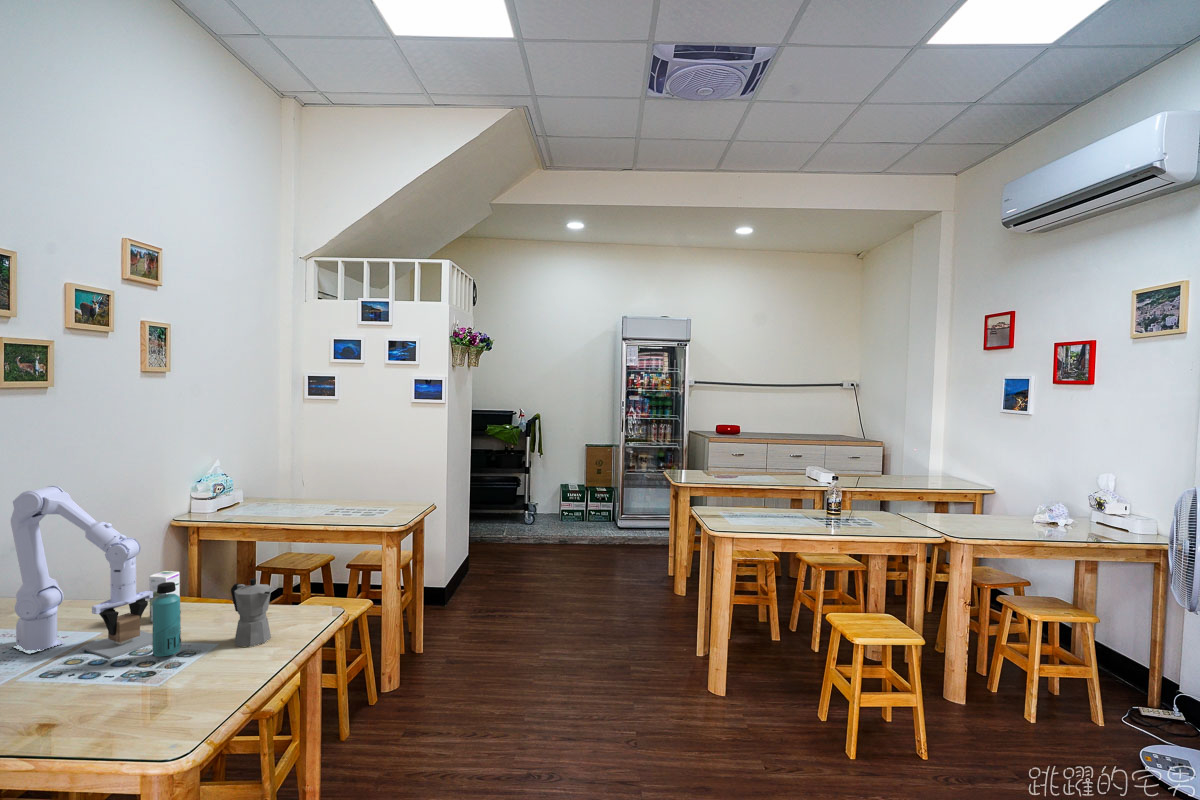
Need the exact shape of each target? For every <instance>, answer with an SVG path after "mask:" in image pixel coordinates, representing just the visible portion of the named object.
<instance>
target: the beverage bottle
mask: <svg viewBox="0 0 1200 800" xmlns="http://www.w3.org/2000/svg"><path fill="white" fill-rule="evenodd" d="M175 590H176V587H175V583H174V582H165V583H161V584H159V585H158V587H157V593H158V594H164V595H160V596H158V597H157V598H156V599H155V600H154V601H153V602H152V605H153V622H152V634H153V641H152V642H153V644H151V646H152V655H153V656H154V657H168V656H171V655H172V656H173V655H174V654H177V653H178V652H180V650H181V648H182V631H181V630H182V627H181V619H182V616H181V613H182V610H181V597H179V596H178V595H176V594H165V593H171V592H174V591H175Z"/></svg>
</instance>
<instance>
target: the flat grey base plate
mask: <svg viewBox="0 0 1200 800" xmlns="http://www.w3.org/2000/svg"><path fill="white" fill-rule="evenodd" d="M152 641H153V632H149V631H145V630H141V629H140V636H137V637H134V638H131V639H128V640H125V641H123V642H116V641H113V640H110V639H108V637H106V638H103V639H101V640H98V641H94V642H92V643H88V644H85V645H82V646H80V647H79V649H80V650H82V649H83V651H85V650H86V652H89V653H92V654H94V655H97V656H101V657H104V658H108V659H111V660H112V659H115V658H116V657H119V656H122V655H125V654H128V653H131V652H134V651H136V650H139V649H141V648H144V647H147V646H150V645H152V644H153V642H152Z"/></svg>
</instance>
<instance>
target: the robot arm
mask: <svg viewBox="0 0 1200 800" xmlns="http://www.w3.org/2000/svg"><path fill="white" fill-rule="evenodd" d="M12 505H13V511H12V513H11V517H10V526H11V530H12V536H13V540H14V541H13V542H14V546H15V551H16V555H17V556H16V557H17V561H18V566H19V571H20V577H21V580H22V584H21V586H20V588H19V589H18V591H17V592H16V594H15V599H16V602H15V604H14V612H15V614H16V616H18V617H19V618H18V619H17V622H16V624H15V644H16V645H19V646H21V647H22V648H23V649H25V650H37V649H38V650H39V649H40V650H43V649H46V650H48V649H47V648H49V649H51V648H50V647H52V648H55V647H54V646H56V647H58V646H57V645H59V646H61V645H60V644H62V645H65V644H64V643H66V642H65V641H63V640H60V639H58V610H59V606H60V605H61V604H62V603H63V601H64V598H65V597H64V591H63V590H62V589H61V588H60V585H59V584H58V581H57V580H56V579H54V578H52V577H50V573H49V568H48V563H47V558H46V553H45V547H44V543H43V538H42V532H41V528H40V521H41V520H42V519H44V518H45V517H46V516H47V515H59V516H61V517H63V518H64V519H66V520H67V521H69V522H71V523H72V524H74V525H75V526H76V527H78V528H79V529H81V530H82V531H84V534H85V539H86V540H88V541H89V542H90V543H92V544H93V545H95V546H96V547H97V548H98V549H100V550H102V552H103V553H105V554H104V557H105V559H106V561H107V562H108V563H109V568H110V599H108V600H105V601H103V602H100V603H99V604H98V603H97V604H94V605H92V606H91V614H92V615H99V616H100V617H101V619H102V620H103V621H104V623H105V625H106V628H107V632H109V635H116V628H117V625H116V624H117V617H118V616H119V613H120V611H116V609H117V608H120V607H123V606H126V605H128V606H129V613H131V614H134V615H138V616H140V620H141V618H142V616H143V614H144V611H145V610H146V609H147V607H148V605H149V601H148V600H150V598H153V591H150V590H145V591H140V592H137V557H136V556H138V555H139V553H140V552H141V547H142V546H141V544H140V542H139V541H138V539H136V538H134V537H132V536H131V537H127V535H125V534H122V533H120V532H119V531H118V530H116V529H115V528H114V527H113V524H112V523H110V522H106V521H97V520H96V519H94V518H93V516H91V515H90V514H89V513H88V512H86V510H84V509H83V508H82V507H80V506H79V505H78V504H77V503H76V502H75V501H74V500H73V499H72V497H71V495H70V493H68V492H66V491H65V490H63V488H62V487H60V486H59V485H48V486H46V487H41V488H38V489H33V490H26V491H23V492H21V493H20V494H19V495H18V496H17V497H16V498H15V499H14V500H12ZM147 599H148V600H147ZM43 651H44V650H43Z"/></svg>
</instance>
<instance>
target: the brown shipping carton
mask: <svg viewBox="0 0 1200 800" xmlns="http://www.w3.org/2000/svg"><path fill="white" fill-rule="evenodd" d="M116 625H117V628H116V635H109V632H108V631H107V632H108V633H107V634H108V635H107V638H108V639H110V640H113V641H116V642H123V641H125V640H128V639H131V638H134V637H137V636H140V630H141V619H140V616H138V615H134V614H131V613H130V612H127V613H124V614H121V615H118V617H117V624H116Z"/></svg>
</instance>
